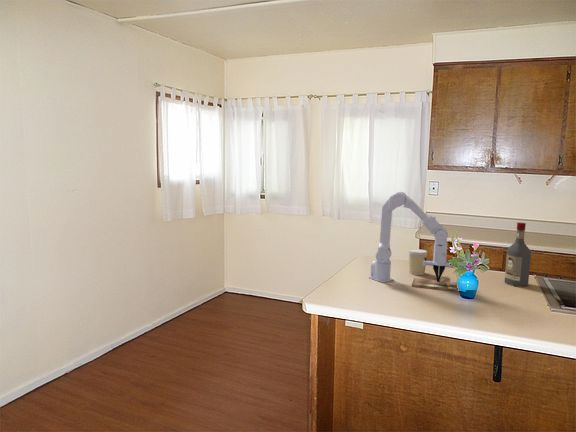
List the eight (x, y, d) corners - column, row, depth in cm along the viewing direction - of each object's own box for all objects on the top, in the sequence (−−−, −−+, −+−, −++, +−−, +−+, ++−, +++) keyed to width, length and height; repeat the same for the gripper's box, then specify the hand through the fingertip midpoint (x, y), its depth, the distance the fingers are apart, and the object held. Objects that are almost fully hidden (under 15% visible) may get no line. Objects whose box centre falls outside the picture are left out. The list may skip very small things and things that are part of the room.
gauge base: (411, 286, 206) (412, 276, 205) (414, 279, 217) (414, 270, 217) (466, 292, 198) (467, 282, 197) (466, 285, 209) (466, 275, 208)
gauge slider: (440, 286, 202) (440, 280, 202) (441, 282, 209) (441, 275, 209) (449, 287, 201) (450, 281, 200) (450, 283, 208) (450, 276, 208)
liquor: (515, 280, 219) (521, 221, 215) (531, 285, 211) (536, 224, 207) (501, 282, 216) (506, 221, 212) (516, 287, 208) (521, 224, 204)
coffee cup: (428, 275, 226) (429, 252, 224) (410, 275, 226) (411, 252, 224) (423, 271, 235) (424, 249, 233) (405, 270, 235) (406, 248, 233)
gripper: (423, 253, 204) (421, 281, 206) (456, 256, 199) (454, 285, 201) (424, 250, 211) (422, 278, 213) (456, 253, 206) (454, 281, 208)
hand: (438, 281), depth 207 cm, fingers closed
